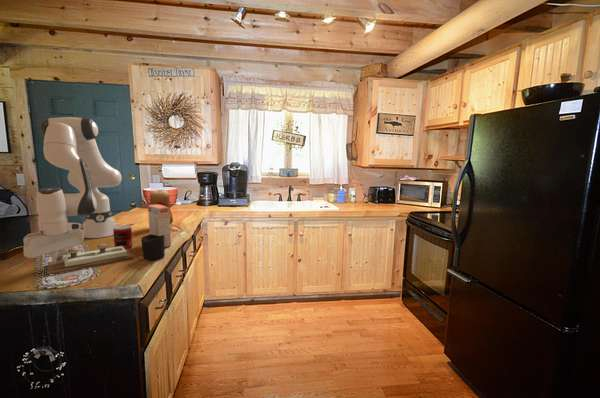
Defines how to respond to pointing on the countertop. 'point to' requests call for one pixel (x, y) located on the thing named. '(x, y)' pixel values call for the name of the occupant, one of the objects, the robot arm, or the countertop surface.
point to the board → (60, 265)
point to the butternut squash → (161, 200)
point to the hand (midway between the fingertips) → (57, 260)
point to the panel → (94, 256)
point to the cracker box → (160, 222)
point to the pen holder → (153, 247)
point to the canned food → (123, 236)
